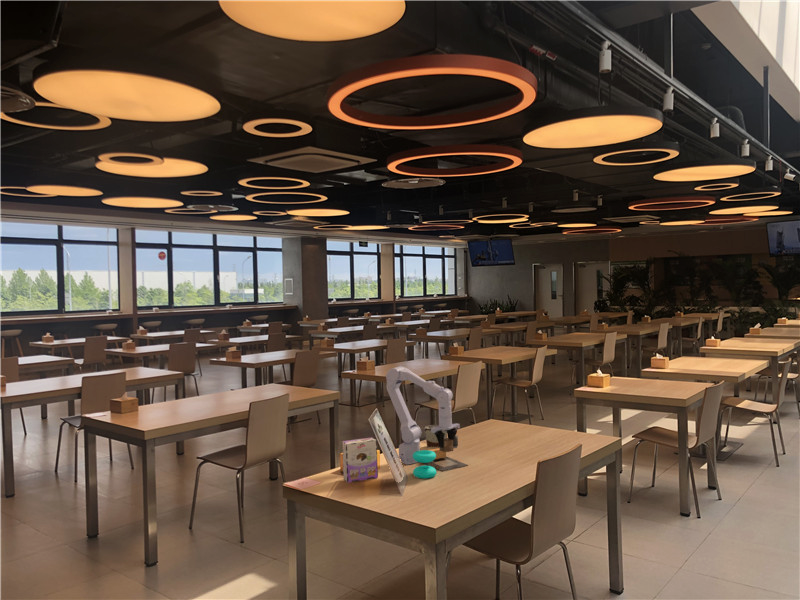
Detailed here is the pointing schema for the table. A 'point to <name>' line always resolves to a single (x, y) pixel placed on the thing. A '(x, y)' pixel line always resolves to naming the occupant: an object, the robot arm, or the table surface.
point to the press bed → (445, 464)
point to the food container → (432, 436)
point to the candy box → (360, 459)
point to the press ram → (442, 454)
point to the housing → (447, 445)
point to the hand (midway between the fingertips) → (446, 446)
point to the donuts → (424, 470)
